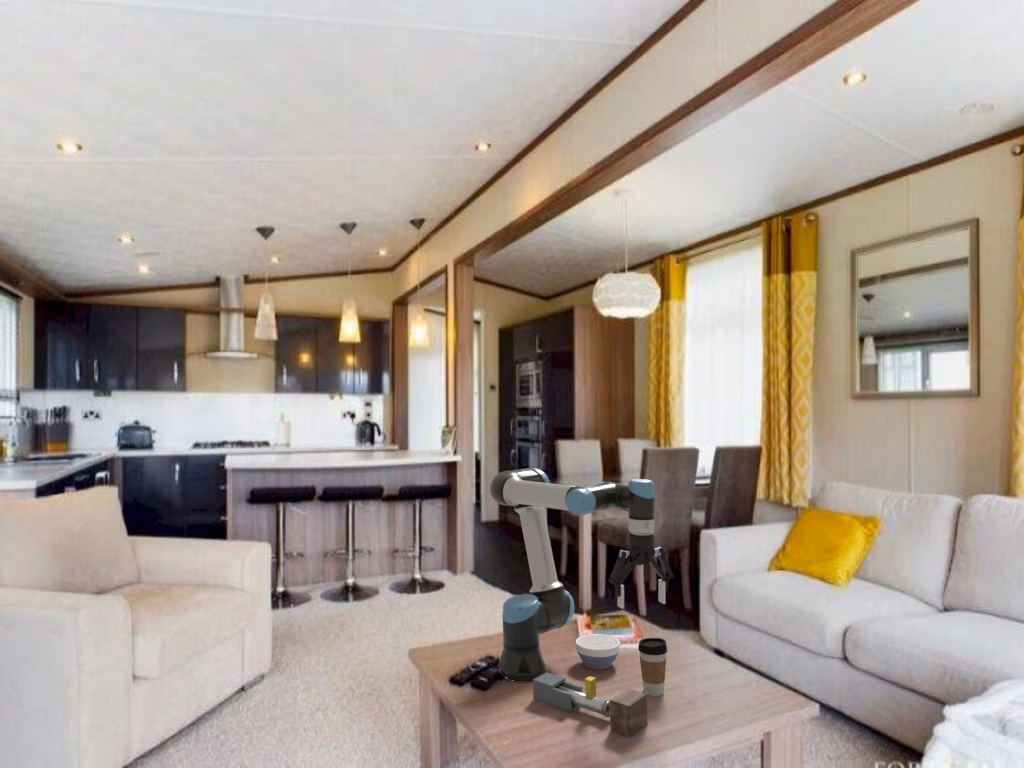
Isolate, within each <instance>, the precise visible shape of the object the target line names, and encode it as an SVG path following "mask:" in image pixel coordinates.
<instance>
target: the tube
mask: <svg viewBox="0 0 1024 768" xmlns="http://www.w3.org/2000/svg"><path fill="white" fill-rule="evenodd" d="M554 688H557V689H560V690H563V691H566V692H569V693H571V704H573V705H576V706H579V707H578V708H582V709H585V710H588V711H590V712H594V713H597V714H599V715H602V716H604V717H606V718H610V700H605V699H602V698H599V697H597V678H596V677H594V676H590V675H589V676H587V677H586V678H584V688H585V689H584V693H581V692H578V691H575V690H572V689H569V688H566V687H562V686H559V685H557V686H556V687H554Z"/></svg>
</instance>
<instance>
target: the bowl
mask: <svg viewBox="0 0 1024 768" xmlns="http://www.w3.org/2000/svg"><path fill="white" fill-rule="evenodd" d="M620 649H621V644H620V640H619V639H618V638H617V637H615V636H612V635H608V634H602V633H590V634H589V633H588V634H584V635H581V636H579V637H577V638H576V640H575V650H576V652H577V654H578V656H579V658H580V660H581V661H582V662H583V664H584V666H585V667H587V668H589V669H592V670H595V671H596V670H601V671H602V670H606V669H608V668H611V666H612V665H613V663H614V662H615V661H616V659H617V656H618V655H619V653H620Z"/></svg>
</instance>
